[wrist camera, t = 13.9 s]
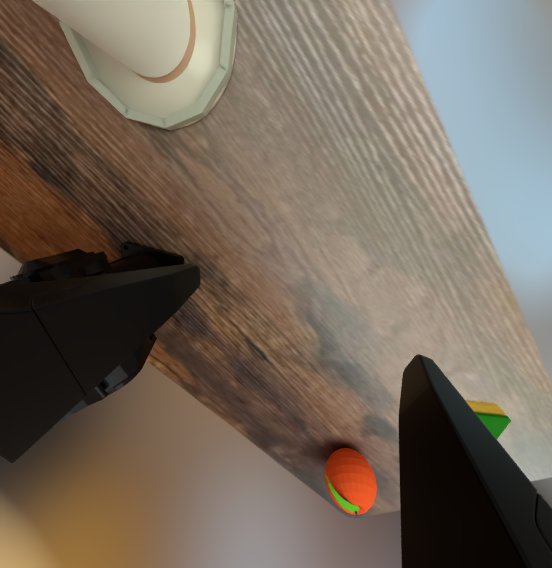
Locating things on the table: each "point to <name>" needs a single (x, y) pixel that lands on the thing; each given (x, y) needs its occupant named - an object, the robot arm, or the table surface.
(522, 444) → the table surface
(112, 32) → the can
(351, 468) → the clementine
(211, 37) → the saucer
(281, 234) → the table surface
